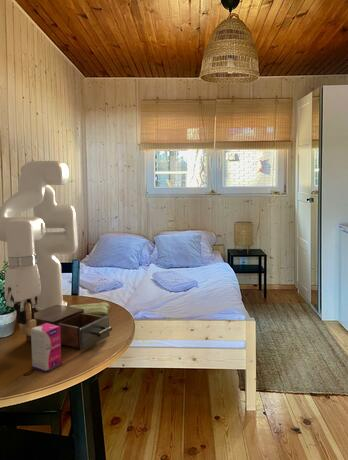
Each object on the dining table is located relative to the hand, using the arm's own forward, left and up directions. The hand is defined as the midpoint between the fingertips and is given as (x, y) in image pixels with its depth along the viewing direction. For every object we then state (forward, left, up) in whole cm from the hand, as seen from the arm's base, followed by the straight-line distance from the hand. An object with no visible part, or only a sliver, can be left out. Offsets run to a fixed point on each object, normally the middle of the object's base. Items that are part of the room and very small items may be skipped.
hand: (25, 321), depth 126 cm
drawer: (+11, +14, -9) cm, 20 cm away
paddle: (+1, 0, -4) cm, 4 cm away
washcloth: (-8, +36, -10) cm, 38 cm away
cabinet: (-2, +14, -10) cm, 18 cm away
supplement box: (+12, -4, -10) cm, 16 cm away
